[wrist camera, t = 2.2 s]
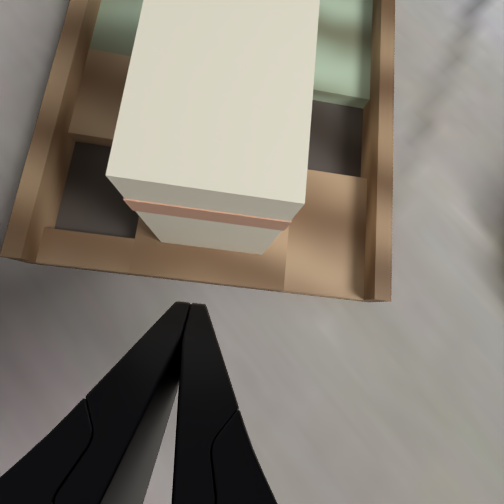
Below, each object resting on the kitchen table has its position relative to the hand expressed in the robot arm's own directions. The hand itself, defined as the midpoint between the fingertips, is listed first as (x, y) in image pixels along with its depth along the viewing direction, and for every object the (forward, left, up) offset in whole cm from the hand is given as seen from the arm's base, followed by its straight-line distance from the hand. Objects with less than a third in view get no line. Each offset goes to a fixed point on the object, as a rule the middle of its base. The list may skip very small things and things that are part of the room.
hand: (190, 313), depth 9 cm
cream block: (+6, +7, -9) cm, 13 cm away
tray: (+9, +11, -10) cm, 18 cm away
